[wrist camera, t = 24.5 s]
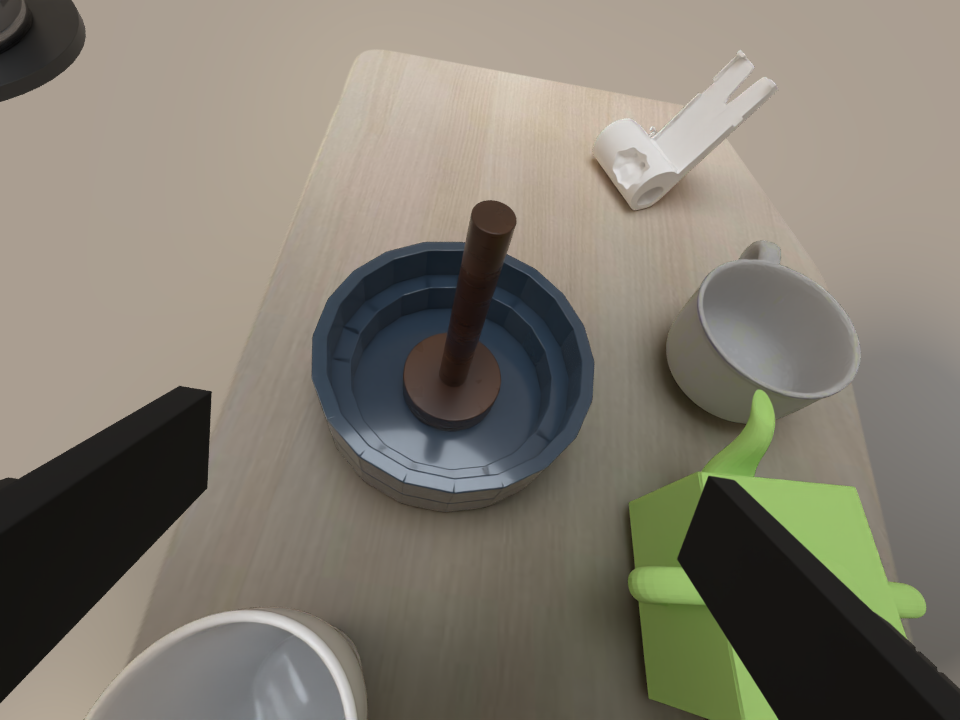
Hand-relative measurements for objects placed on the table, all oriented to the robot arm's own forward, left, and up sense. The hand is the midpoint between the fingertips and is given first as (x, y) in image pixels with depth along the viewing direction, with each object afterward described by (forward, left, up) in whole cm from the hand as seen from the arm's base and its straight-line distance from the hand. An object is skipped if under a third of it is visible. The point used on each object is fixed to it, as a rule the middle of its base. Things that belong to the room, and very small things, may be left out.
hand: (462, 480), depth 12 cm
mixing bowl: (-4, +10, -18) cm, 21 cm away
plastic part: (+1, +41, -18) cm, 45 cm away
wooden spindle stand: (-4, +10, -17) cm, 20 cm away
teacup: (+13, +24, -18) cm, 33 cm away
